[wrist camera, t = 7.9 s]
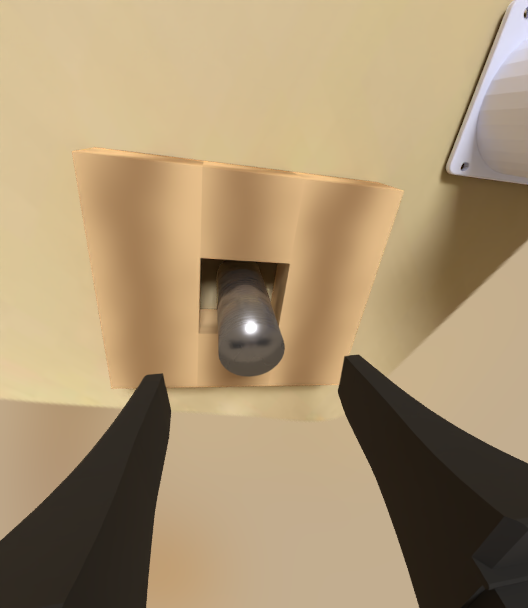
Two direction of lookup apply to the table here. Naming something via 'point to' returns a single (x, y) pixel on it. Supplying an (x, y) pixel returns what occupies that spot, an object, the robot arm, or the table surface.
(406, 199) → the table surface
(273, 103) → the table surface
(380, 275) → the table surface
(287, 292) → the oak hole block
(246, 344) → the metal peg
